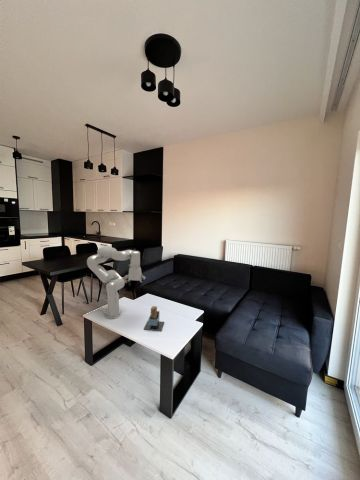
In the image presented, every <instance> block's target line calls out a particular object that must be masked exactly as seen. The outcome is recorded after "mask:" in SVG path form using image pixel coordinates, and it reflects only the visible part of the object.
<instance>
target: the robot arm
mask: <svg viewBox="0 0 360 480" xmlns="http://www.w3.org/2000/svg"><path fill="white" fill-rule="evenodd" d="M108 259H113V260H114V261H122V262H123V261H127V260H130V264H128V267H129V268H128V274H125V275H124V277H125V279H126V281H127V284H128V287H130V286H132V283H131V282H132V281H139V287H140V288H142V287H143V282H144V281H145V279H146V278H147V277H146V276H145V275H143V273H142V268H141V252H140V251H139V250H132V249H126V250H121V251H120V250H119V251H118V250H117V249H116V248H115V247H112V246H111V245H107V246H102V247H99V248H98V249H97V253H96V254H93V255H91V256H89V257H88V258H87V260H86V265H87V267H88V268H89V269H90V270H91V271H92V272H93V273H94V274H95V276H97V278H98V279H99V280H100V281H101V282H102V283H104V284H106V287H105V288H106V293H107V309H103V314H105V318H107V319H109V320H111V319H113V320H114V319H117V318H120V316H121V314H122V312H121V311H120V295H119V292H118V291H119V290H120V289H122V288H124V286H125V283H126V282H125V280H124V279H123V278H122V276H121V275H120V274H119V273H118V272H117V271H116V270H115V269H110V270H109V269H108V270H106V269H105V268H104V266H102V265H100V264H102V263H105V262H106V261H107V260H108Z"/></svg>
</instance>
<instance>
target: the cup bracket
mask: <svg viewBox="0 0 360 480" xmlns="http://www.w3.org/2000/svg"><path fill="white" fill-rule="evenodd" d="M160 314H161V313H160V310H157V319H151V314H150V315H149V317H148V318H147V319H148V320H147V321H146V323H145V326H144V327H143V330H144V331H153V332H155V331H156V332H162V330H163V328H164V325H165V321H160Z"/></svg>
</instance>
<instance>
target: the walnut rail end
mask: <svg viewBox="0 0 360 480" xmlns="http://www.w3.org/2000/svg"><path fill="white" fill-rule="evenodd" d="M157 311H158V306H154V305H152V306H151V308H150V315H151V319H157Z"/></svg>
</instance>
